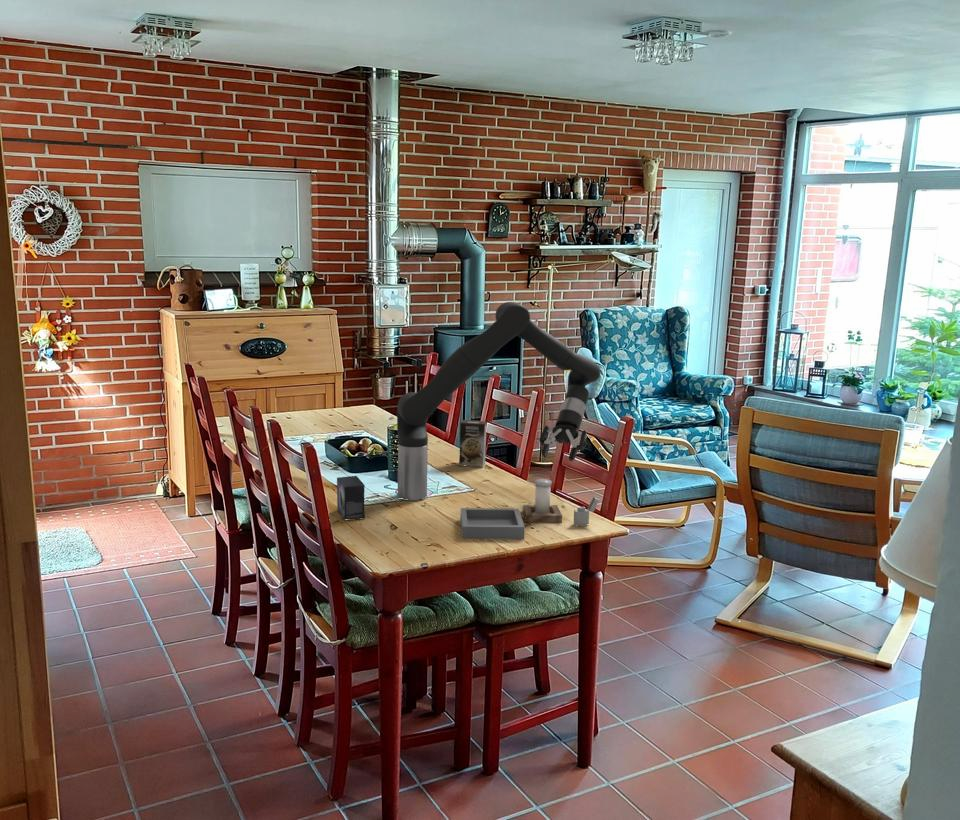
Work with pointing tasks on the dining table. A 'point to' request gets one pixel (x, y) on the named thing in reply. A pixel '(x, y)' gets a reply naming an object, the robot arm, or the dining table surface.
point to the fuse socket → (532, 517)
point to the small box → (350, 497)
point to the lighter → (584, 513)
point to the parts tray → (491, 523)
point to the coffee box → (472, 443)
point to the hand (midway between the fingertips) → (557, 458)
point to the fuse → (542, 496)
